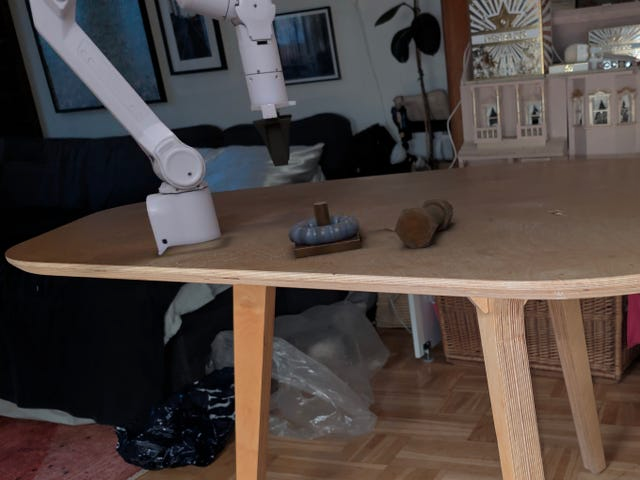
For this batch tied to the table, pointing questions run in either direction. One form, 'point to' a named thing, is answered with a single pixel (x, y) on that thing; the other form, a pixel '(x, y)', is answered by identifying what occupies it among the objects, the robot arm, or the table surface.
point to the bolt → (423, 222)
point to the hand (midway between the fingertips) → (282, 163)
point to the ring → (324, 230)
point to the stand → (309, 250)
